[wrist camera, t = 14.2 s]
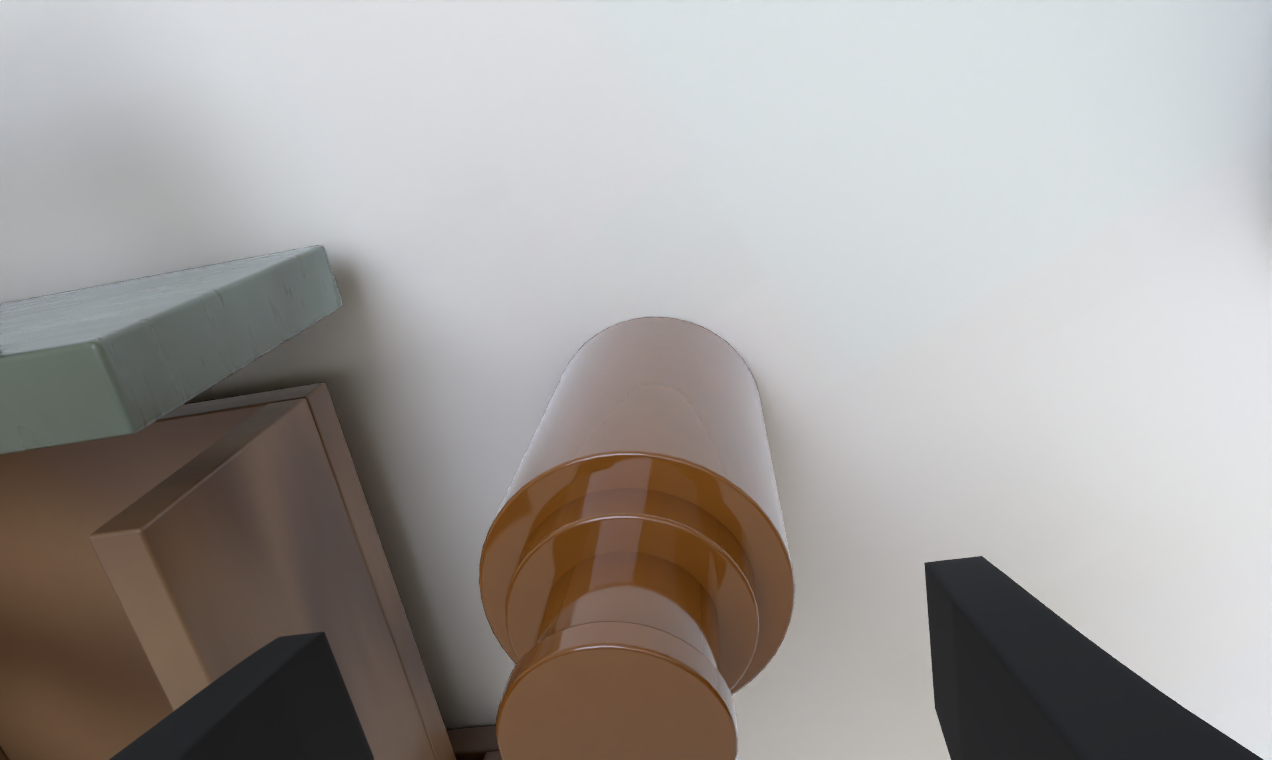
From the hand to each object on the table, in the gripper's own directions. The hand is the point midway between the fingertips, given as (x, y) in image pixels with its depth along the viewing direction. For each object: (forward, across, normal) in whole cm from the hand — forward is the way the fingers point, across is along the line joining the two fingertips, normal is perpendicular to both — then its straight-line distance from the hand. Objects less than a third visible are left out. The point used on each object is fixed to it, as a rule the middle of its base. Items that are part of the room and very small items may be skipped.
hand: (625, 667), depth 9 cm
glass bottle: (+7, 0, 0) cm, 7 cm away
